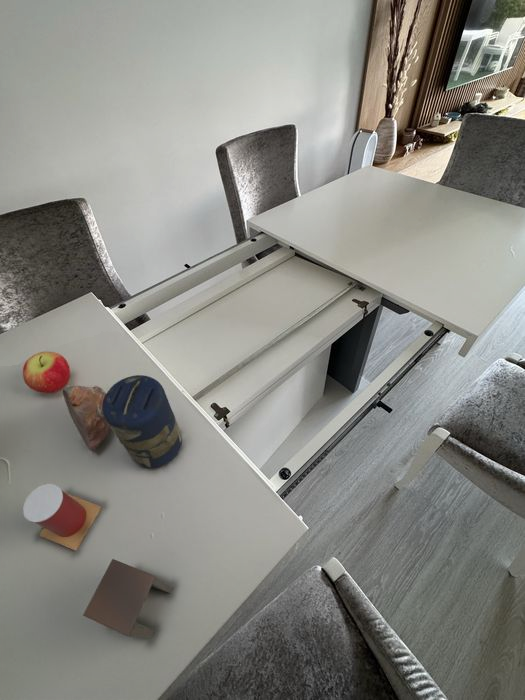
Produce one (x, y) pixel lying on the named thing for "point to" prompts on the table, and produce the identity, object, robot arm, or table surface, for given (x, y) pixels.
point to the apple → (46, 372)
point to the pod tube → (54, 510)
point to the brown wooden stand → (123, 599)
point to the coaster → (77, 538)
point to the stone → (87, 413)
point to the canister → (143, 420)
